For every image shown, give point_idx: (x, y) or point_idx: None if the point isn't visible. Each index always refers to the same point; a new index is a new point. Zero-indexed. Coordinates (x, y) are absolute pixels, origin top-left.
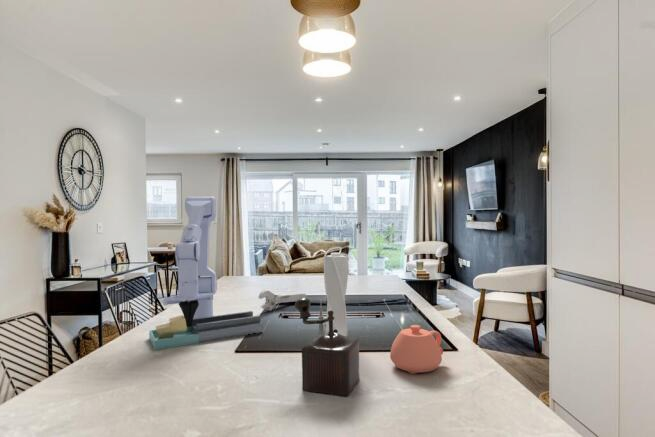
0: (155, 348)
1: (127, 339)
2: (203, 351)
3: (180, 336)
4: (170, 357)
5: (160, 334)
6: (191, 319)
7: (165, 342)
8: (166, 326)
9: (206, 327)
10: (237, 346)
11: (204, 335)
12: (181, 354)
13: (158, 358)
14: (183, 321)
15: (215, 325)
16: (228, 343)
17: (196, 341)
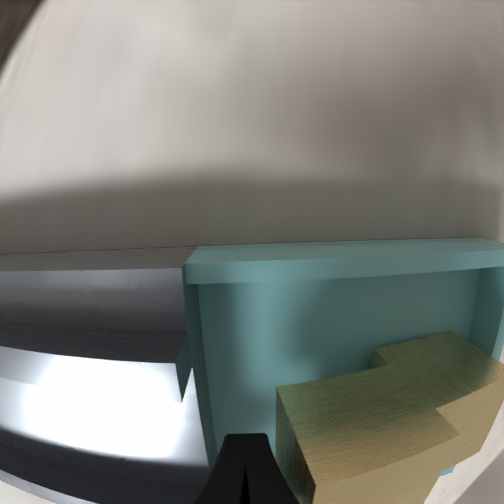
0: (486, 238)
1: (487, 448)
2: (209, 19)
3: (361, 275)
4: (423, 32)
5: (476, 357)
6: (225, 478)
7: (458, 245)
8: (460, 413)
9: (89, 336)
10: (11, 55)
11: (134, 260)
12: (361, 37)
13: (476, 63)
14: (329, 450)
15: (18, 334)
16: (24, 130)
17: (214, 247)
